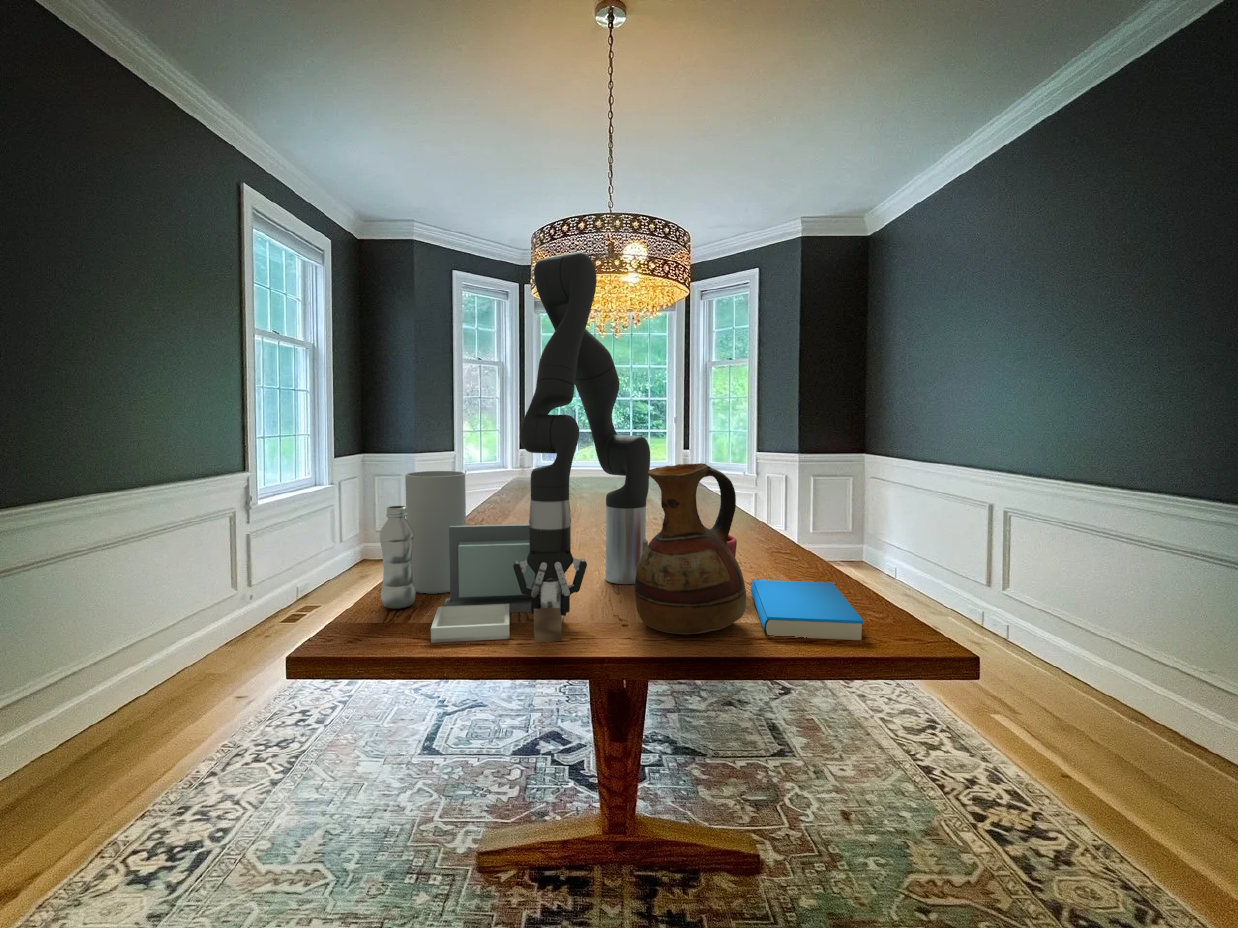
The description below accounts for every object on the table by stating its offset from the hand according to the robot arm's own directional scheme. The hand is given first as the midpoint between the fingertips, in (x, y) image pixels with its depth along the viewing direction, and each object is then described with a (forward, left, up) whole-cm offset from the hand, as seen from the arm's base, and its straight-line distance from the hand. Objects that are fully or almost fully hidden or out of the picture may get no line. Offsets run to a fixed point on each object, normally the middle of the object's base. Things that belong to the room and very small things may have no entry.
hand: (550, 614), depth 122 cm
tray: (+14, +2, -1) cm, 14 cm away
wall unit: (+8, -10, -1) cm, 13 cm away
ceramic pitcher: (-25, +6, -2) cm, 26 cm away
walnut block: (+1, +8, -1) cm, 8 cm away
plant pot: (-35, -17, -2) cm, 39 cm away
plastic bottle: (+29, -13, -1) cm, 32 cm away
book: (-48, +3, -2) cm, 48 cm away
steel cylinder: (0, 0, -1) cm, 1 cm away
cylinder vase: (+23, -27, -2) cm, 35 cm away
